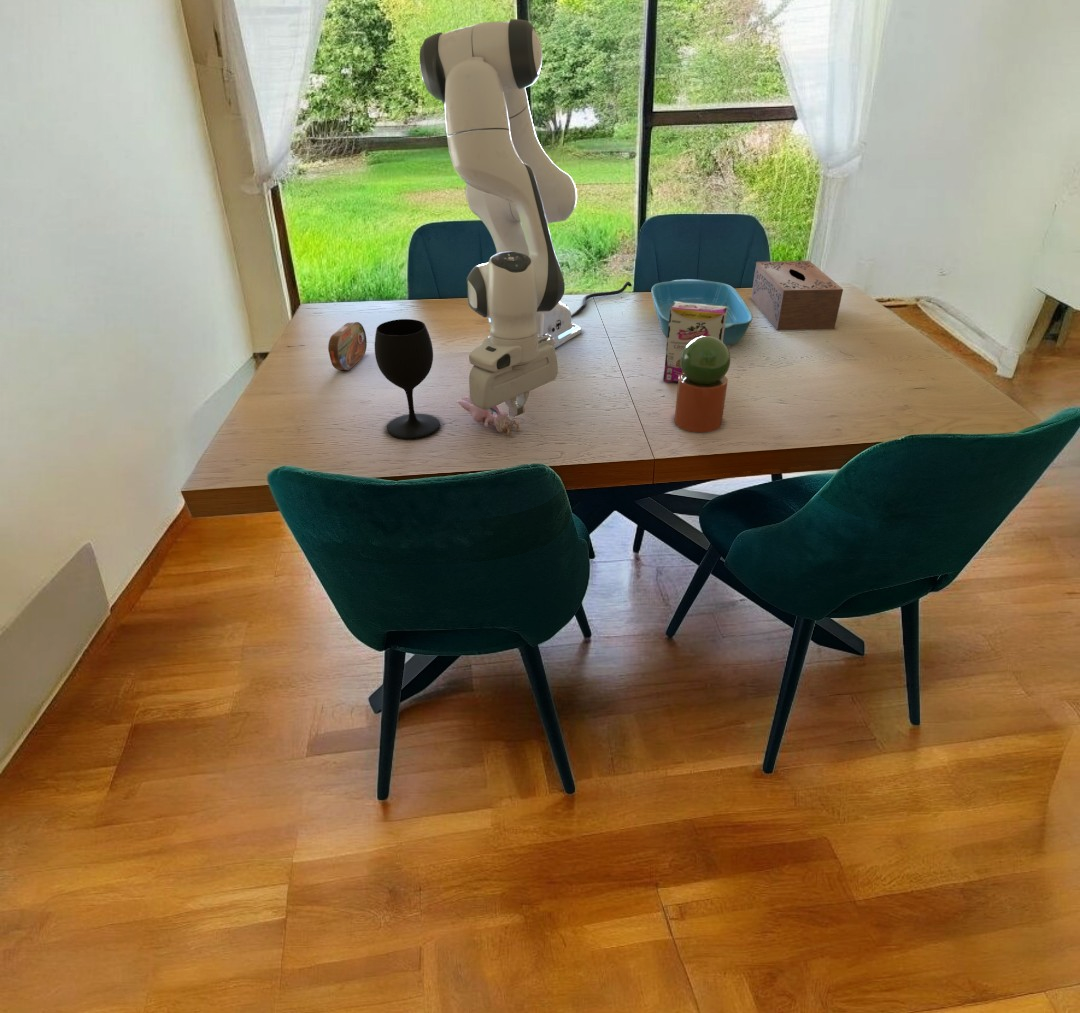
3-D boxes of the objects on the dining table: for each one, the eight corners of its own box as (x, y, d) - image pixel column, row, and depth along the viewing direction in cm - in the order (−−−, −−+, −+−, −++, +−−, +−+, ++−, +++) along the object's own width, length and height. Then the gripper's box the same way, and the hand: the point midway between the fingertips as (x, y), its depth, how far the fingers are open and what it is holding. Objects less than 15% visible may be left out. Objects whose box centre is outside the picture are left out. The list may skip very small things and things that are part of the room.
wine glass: (388, 416, 143) (374, 318, 132) (441, 413, 144) (431, 316, 133) (384, 441, 135) (368, 338, 124) (439, 438, 135) (429, 336, 124)
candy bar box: (662, 382, 155) (668, 307, 146) (666, 373, 159) (673, 300, 150) (715, 389, 152) (725, 312, 143) (718, 379, 156) (728, 305, 147)
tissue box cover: (751, 298, 202) (756, 261, 196) (802, 297, 202) (809, 260, 196) (777, 330, 180) (783, 290, 175) (834, 329, 180) (843, 289, 175)
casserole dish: (758, 354, 167) (762, 324, 163) (662, 355, 168) (664, 325, 164) (726, 304, 198) (729, 277, 194) (644, 305, 198) (646, 278, 195)
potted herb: (691, 407, 145) (700, 325, 135) (730, 421, 139) (743, 336, 130) (665, 422, 139) (672, 338, 130) (704, 437, 134) (715, 350, 125)
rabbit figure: (524, 434, 139) (469, 401, 146) (527, 407, 135) (471, 375, 142) (501, 446, 135) (447, 412, 142) (504, 419, 131) (448, 385, 138)
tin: (343, 376, 160) (336, 340, 156) (330, 375, 161) (323, 339, 156) (369, 351, 173) (364, 317, 168) (357, 350, 173) (351, 316, 169)
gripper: (541, 327, 140) (542, 393, 148) (461, 357, 128) (467, 426, 135) (565, 335, 136) (565, 401, 144) (485, 366, 124) (489, 437, 132)
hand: (516, 414), depth 140 cm, fingers closed
